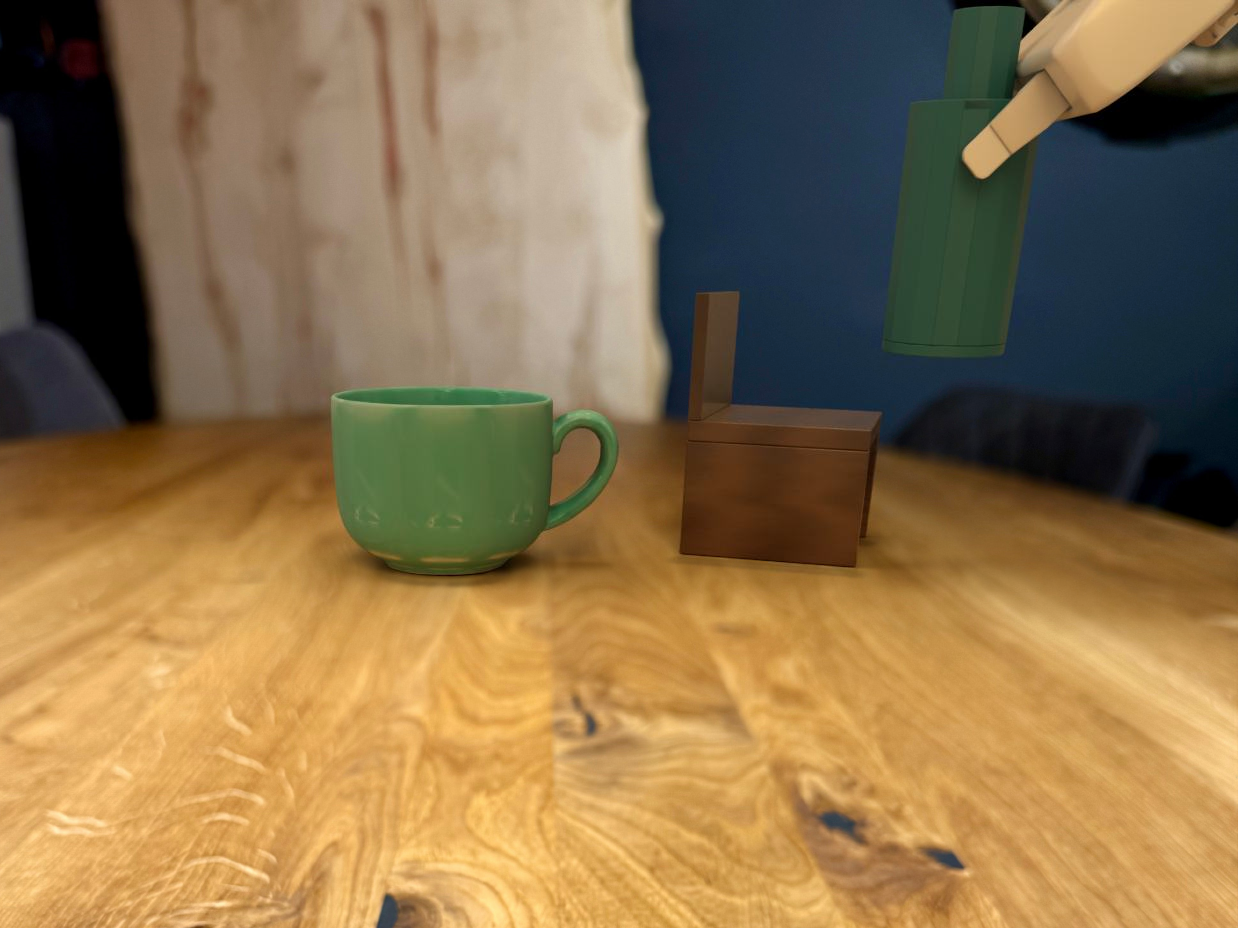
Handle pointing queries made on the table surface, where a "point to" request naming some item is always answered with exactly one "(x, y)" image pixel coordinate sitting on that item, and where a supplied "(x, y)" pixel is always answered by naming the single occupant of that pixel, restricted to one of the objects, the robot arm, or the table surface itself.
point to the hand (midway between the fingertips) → (955, 170)
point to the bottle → (960, 203)
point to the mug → (455, 473)
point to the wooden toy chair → (769, 463)
